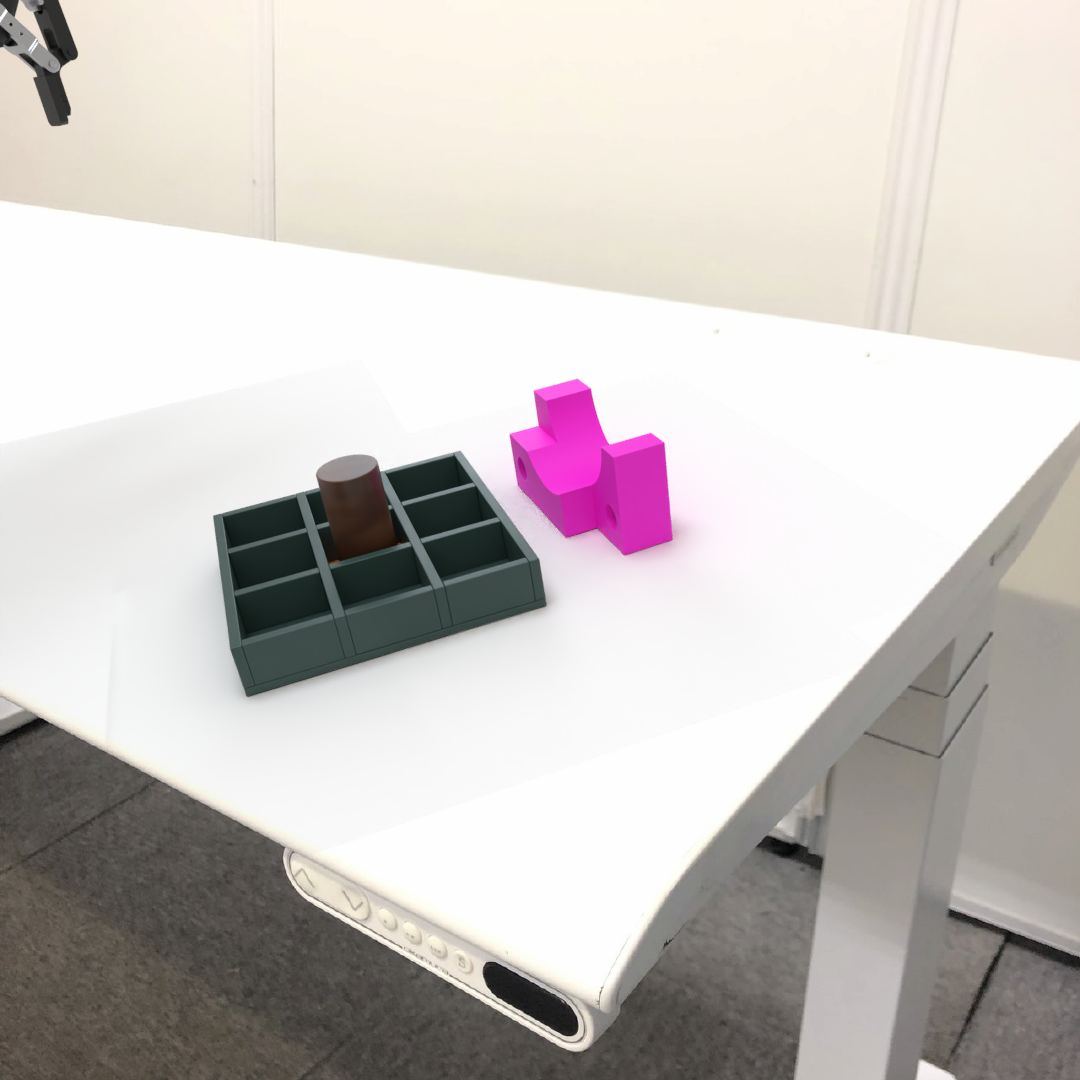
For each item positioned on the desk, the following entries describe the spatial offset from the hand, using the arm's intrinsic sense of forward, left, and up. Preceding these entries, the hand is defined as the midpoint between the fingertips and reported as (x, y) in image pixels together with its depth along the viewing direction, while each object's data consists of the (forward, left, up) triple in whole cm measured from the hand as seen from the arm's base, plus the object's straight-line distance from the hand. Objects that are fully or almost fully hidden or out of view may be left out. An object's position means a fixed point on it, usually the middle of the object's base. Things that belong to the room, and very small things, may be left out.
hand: (9, 135), depth 81 cm
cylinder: (+17, -31, -29) cm, 46 cm away
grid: (+17, -31, -30) cm, 46 cm away
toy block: (+34, -30, -30) cm, 55 cm away
